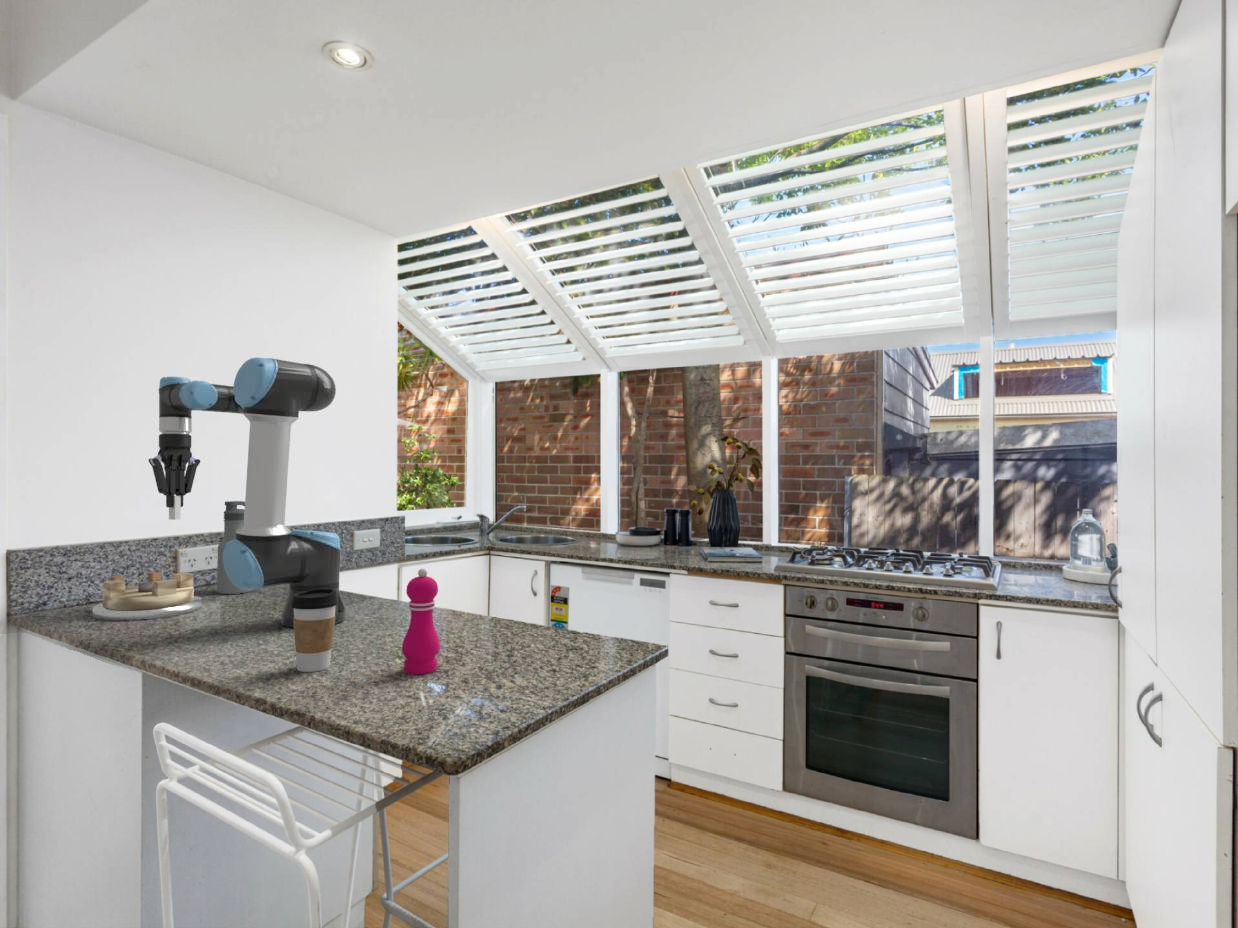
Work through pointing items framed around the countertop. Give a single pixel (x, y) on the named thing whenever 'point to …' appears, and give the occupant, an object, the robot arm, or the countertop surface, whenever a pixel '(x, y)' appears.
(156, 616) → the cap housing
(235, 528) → the water bottle
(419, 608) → the pepper mill
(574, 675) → the countertop surface
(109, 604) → the ring nut
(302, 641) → the coffee cup
